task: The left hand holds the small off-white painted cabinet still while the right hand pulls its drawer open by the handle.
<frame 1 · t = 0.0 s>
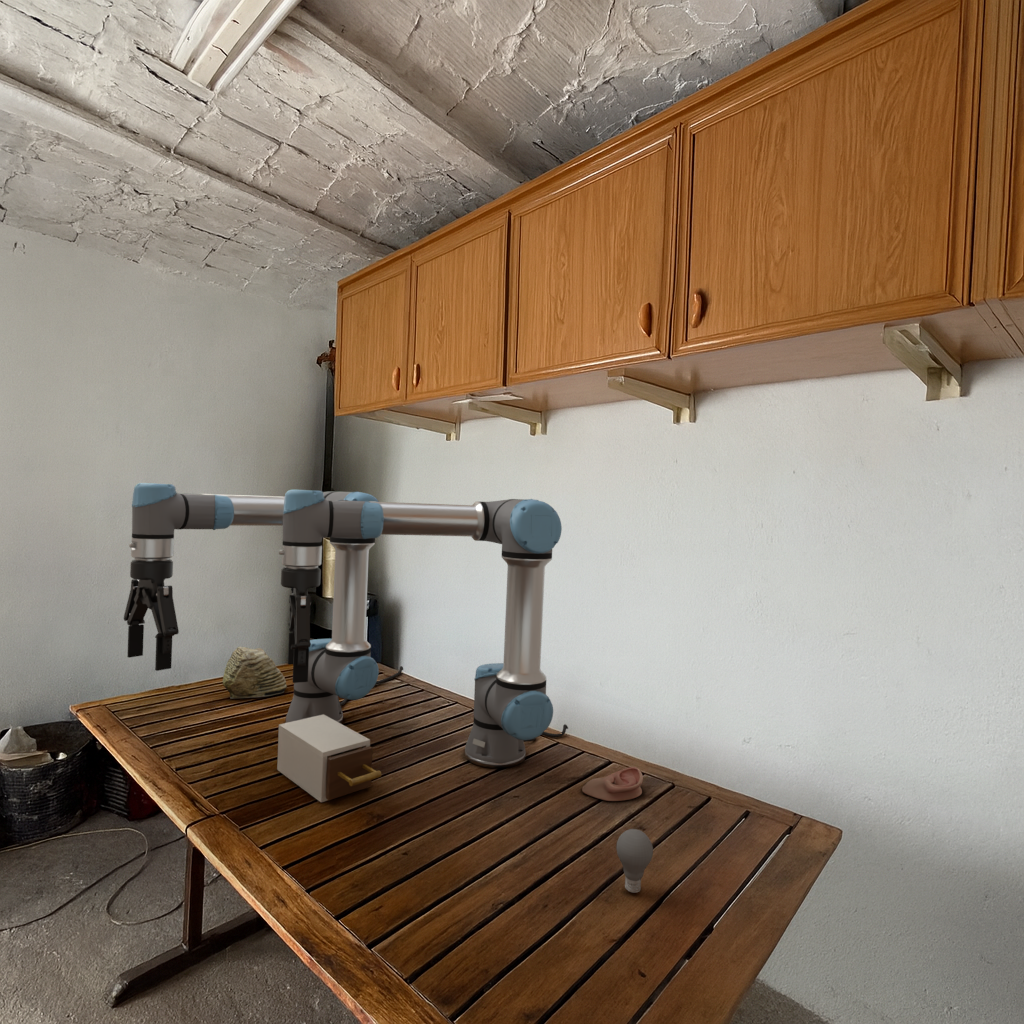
left hand: (148, 662, 129), 28 cm above the table, tool pointing down, fingers open, 13 cm apart
right hand: (297, 672, 127), 28 cm above the table, tool pointing down, fingers open, 13 cm apart
fossil: (254, 694, 198), on the table
light bulb: (632, 891, 106), on the table
cabinet: (321, 778, 143), on the table
drawer: (335, 763, 138), point 5 cm above the table, slide at 0.8 cm
anatomical model: (612, 790, 142), on the table
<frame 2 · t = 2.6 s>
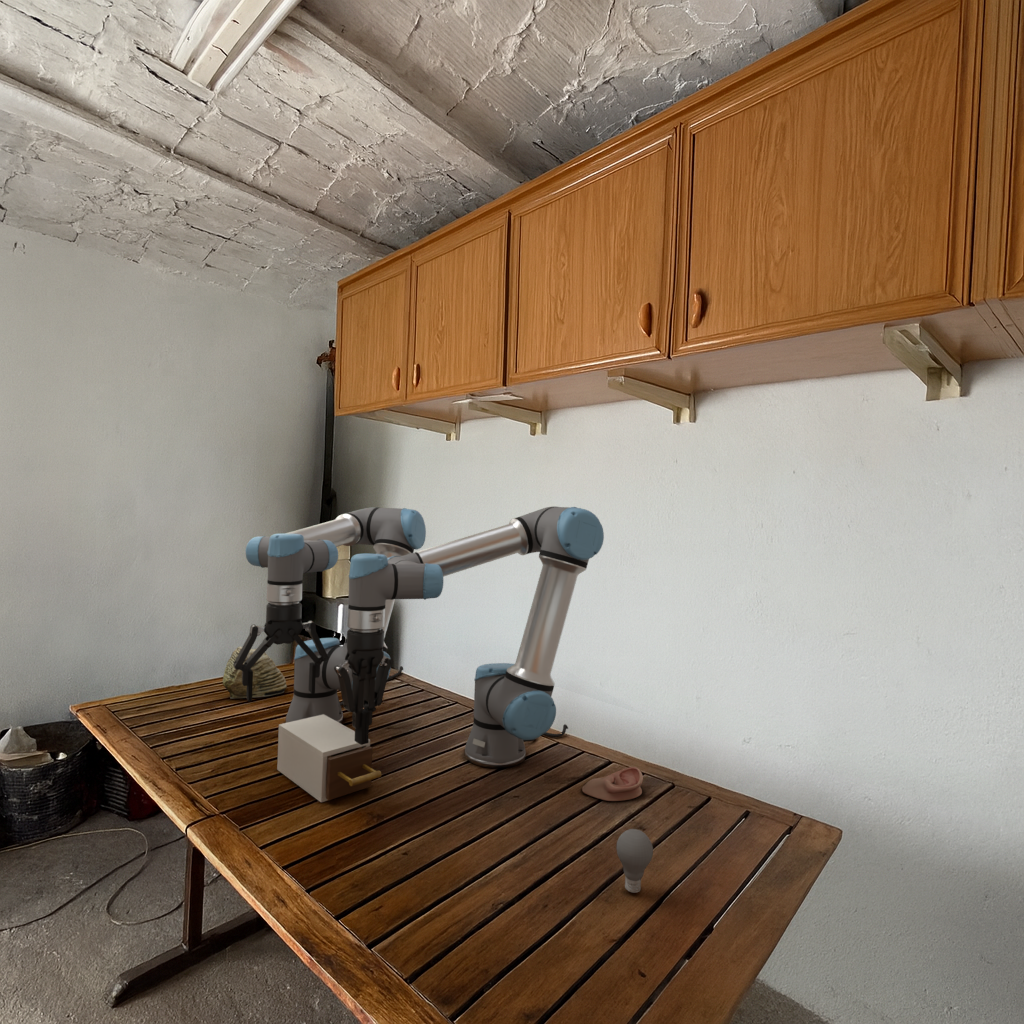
left hand: (281, 695, 143), 18 cm above the table, tool pointing down, fingers open, 13 cm apart
right hand: (361, 741, 131), 13 cm above the table, tool pointing down, fingers closed
nothing on the table moved.
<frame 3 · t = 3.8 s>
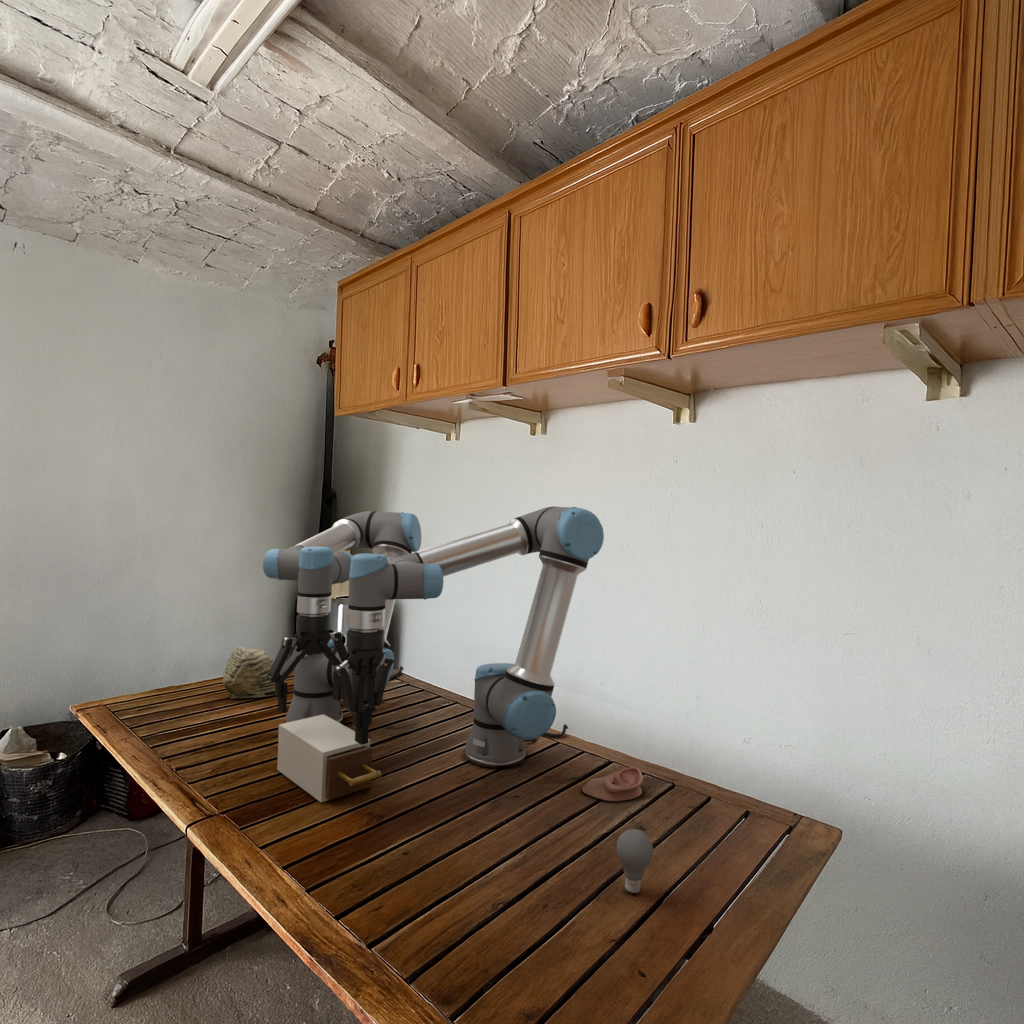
left hand: (310, 705, 147), 15 cm above the table, tool pointing down, fingers open, 13 cm apart
right hand: (361, 741, 131), 13 cm above the table, tool pointing down, fingers closed
nothing on the table moved.
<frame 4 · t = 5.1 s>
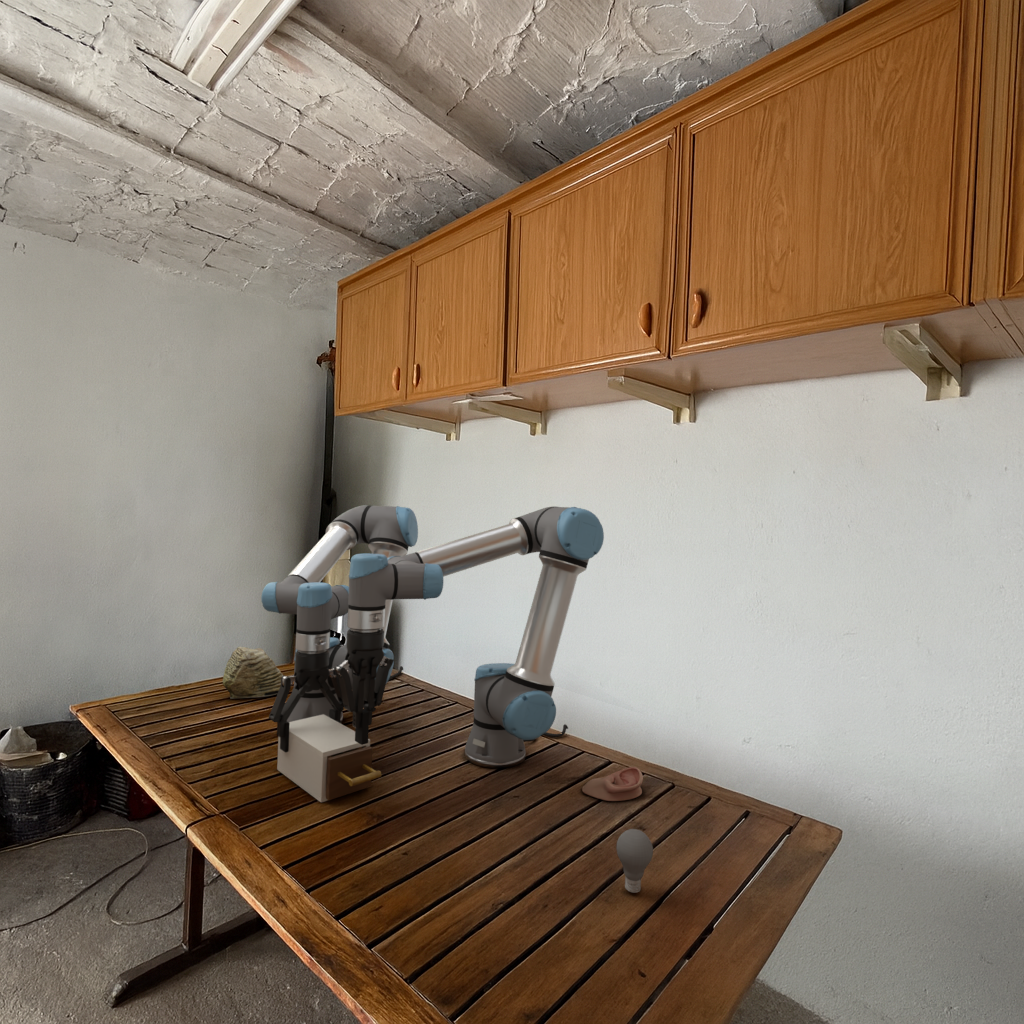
left hand: (309, 743, 147), 6 cm above the table, tool pointing down, fingers closed on cabinet, 11 cm apart
right hand: (361, 741, 131), 13 cm above the table, tool pointing down, fingers closed
cabinet: (321, 778, 143), on the table, touching left hand
everything else where it was.
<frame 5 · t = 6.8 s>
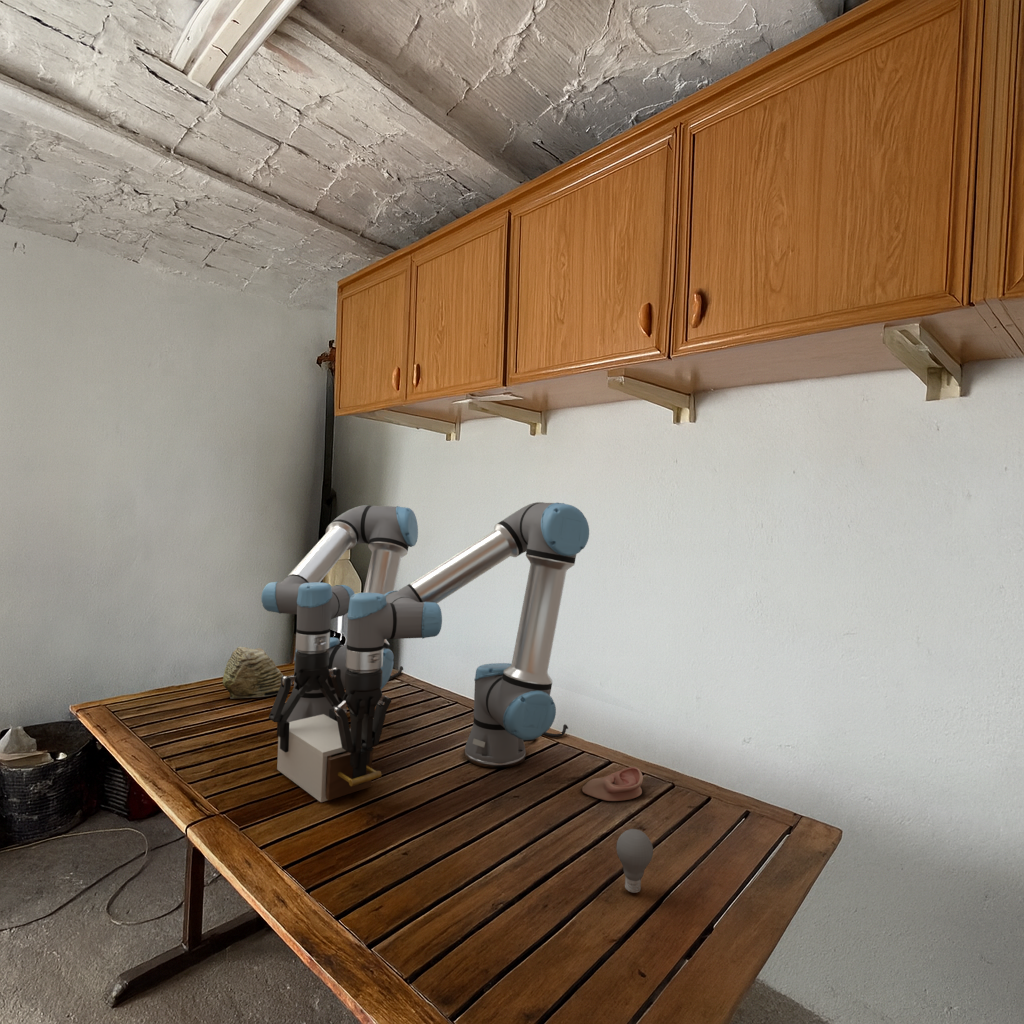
left hand: (308, 743, 147), 6 cm above the table, tool pointing down, fingers closed on cabinet, 11 cm apart
right hand: (359, 781, 131), 5 cm above the table, tool pointing down, fingers closed
cabinet: (321, 778, 143), on the table, touching left hand
drawer: (335, 763, 138), point 5 cm above the table, slide at 0.9 cm, touching right hand
everything else where it was.
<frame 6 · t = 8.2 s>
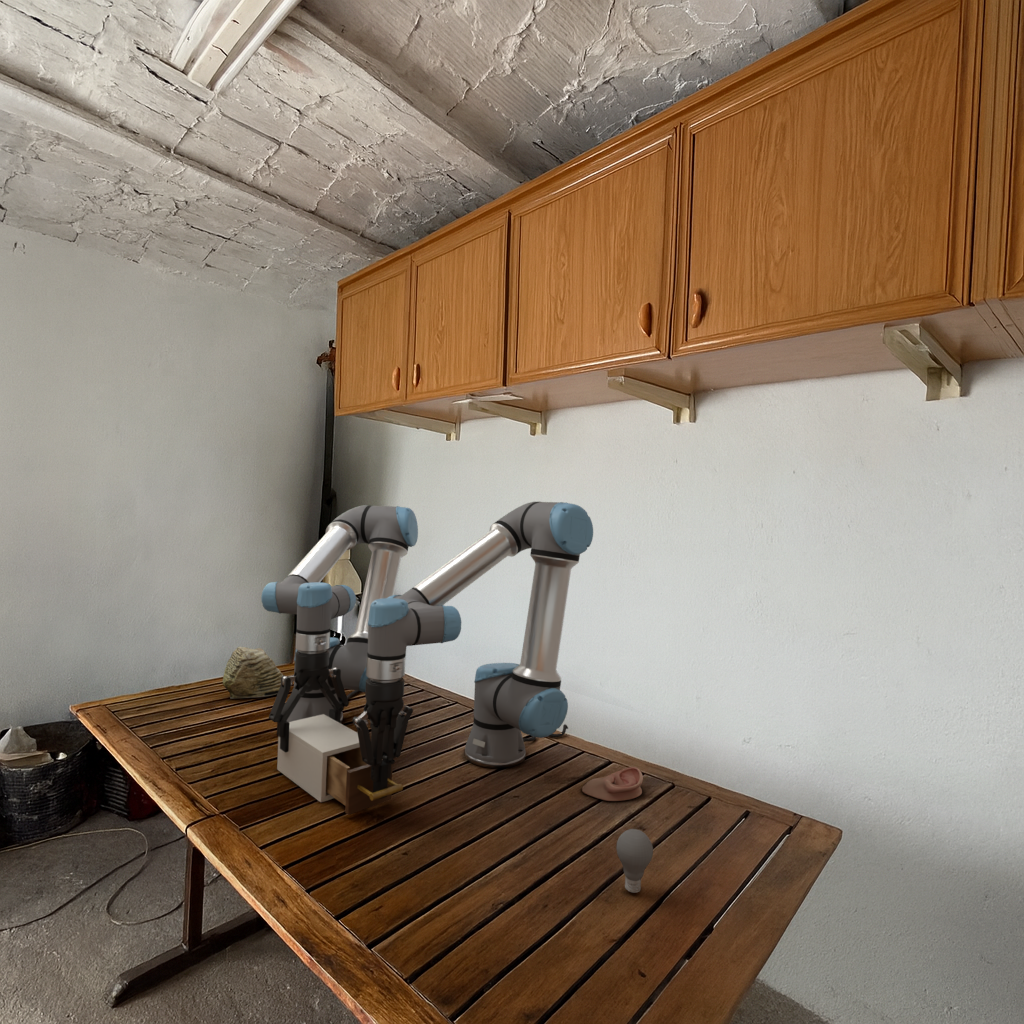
left hand: (308, 743, 147), 6 cm above the table, tool pointing down, fingers closed on cabinet, 11 cm apart
right hand: (379, 795, 126), 5 cm above the table, tool pointing down, fingers closed
cabinet: (321, 778, 143), on the table, touching left hand
drawer: (354, 775, 133), point 5 cm above the table, slide at 8.6 cm, touching right hand
everything else where it was.
when the left hand's fingers open (6 cm above the table, at t = 10.0 s): cabinet stays where it is, on the table.
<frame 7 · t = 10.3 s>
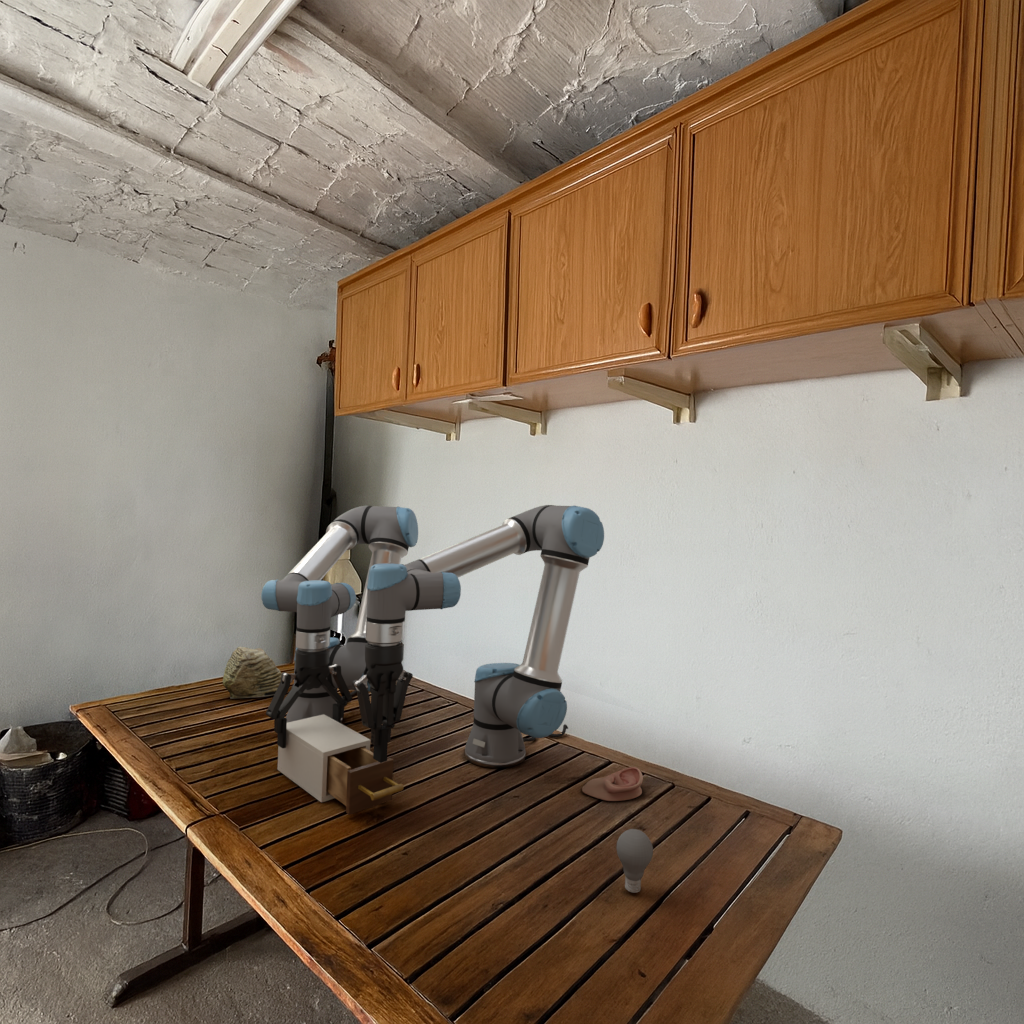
left hand: (309, 739, 147), 7 cm above the table, tool pointing down, fingers open, 13 cm apart
right hand: (380, 759, 126), 12 cm above the table, tool pointing down, fingers closed
cabinet: (321, 778, 143), on the table
drawer: (354, 775, 133), point 5 cm above the table, slide at 8.6 cm
everything else where it was.
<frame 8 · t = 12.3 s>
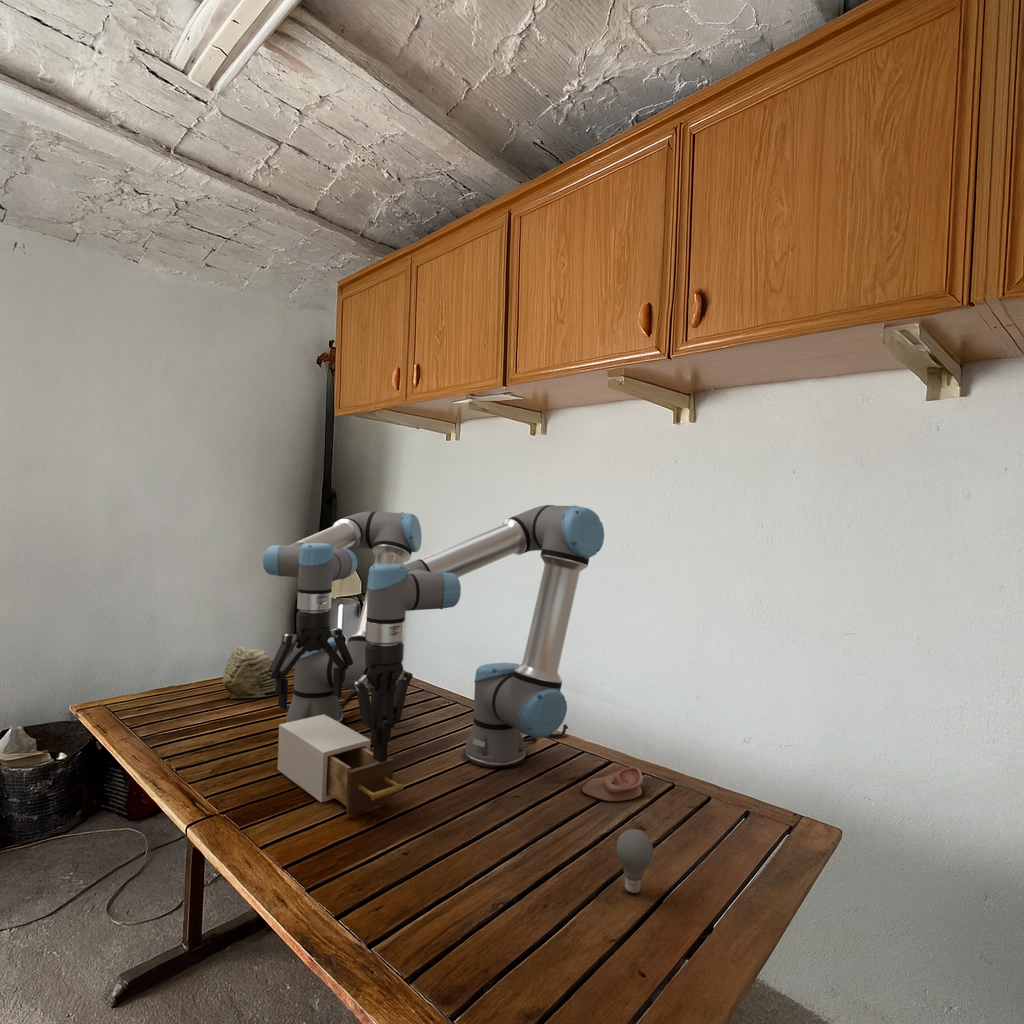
left hand: (310, 701, 147), 16 cm above the table, tool pointing down, fingers open, 13 cm apart
right hand: (380, 759, 126), 12 cm above the table, tool pointing down, fingers closed
nothing on the table moved.
at the end: drawer slide at 8.6 cm; cabinet tilted 0°; cabinet never tilted more than 1° during the clip; cabinet moved 0.1 cm from its start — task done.
